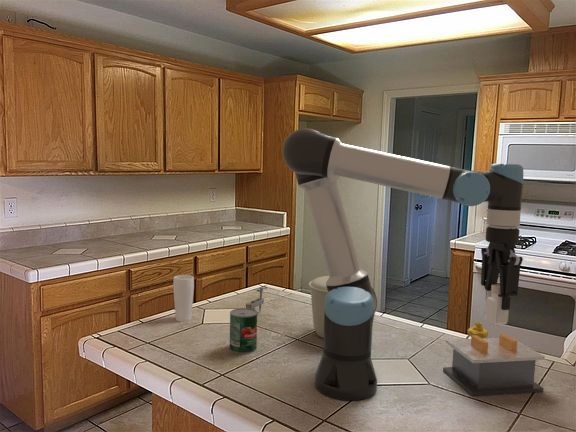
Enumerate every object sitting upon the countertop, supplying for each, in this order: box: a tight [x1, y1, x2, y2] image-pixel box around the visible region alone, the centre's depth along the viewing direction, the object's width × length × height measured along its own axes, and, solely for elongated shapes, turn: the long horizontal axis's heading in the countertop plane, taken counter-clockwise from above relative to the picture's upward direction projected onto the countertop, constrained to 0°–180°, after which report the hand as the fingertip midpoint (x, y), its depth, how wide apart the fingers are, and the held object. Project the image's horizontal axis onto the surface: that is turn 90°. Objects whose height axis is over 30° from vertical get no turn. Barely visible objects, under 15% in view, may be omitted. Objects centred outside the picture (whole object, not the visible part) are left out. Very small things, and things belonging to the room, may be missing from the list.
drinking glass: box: [172, 274, 195, 323], centre depth 161 cm, size 7×7×15 cm
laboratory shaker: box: [442, 333, 546, 397], centre depth 121 cm, size 19×14×11 cm
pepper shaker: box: [484, 283, 508, 326], centre depth 119 cm, size 4×4×10 cm
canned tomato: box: [229, 307, 258, 354], centre depth 138 cm, size 8×8×11 cm
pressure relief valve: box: [467, 321, 489, 338], centre depth 134 cm, size 6×12×10 cm, turn 51°
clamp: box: [245, 286, 268, 313], centre depth 168 cm, size 15×2×10 cm, turn 160°
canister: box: [308, 275, 329, 339], centre depth 150 cm, size 18×18×21 cm
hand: (496, 318), depth 120 cm, fingers closed on pepper shaker, 4 cm apart
